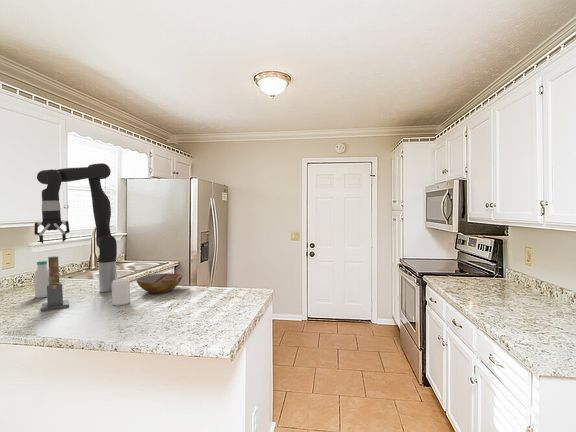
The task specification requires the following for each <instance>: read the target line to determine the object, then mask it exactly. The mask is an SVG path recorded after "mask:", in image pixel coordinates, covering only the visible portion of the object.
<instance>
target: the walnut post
mask: <svg viewBox="0 0 576 432" xmlns="http://www.w3.org/2000/svg"><path fill="white" fill-rule="evenodd" d="M47 258H48V259H47V260H48V261H47V263H48V270H49V285H57V284H60V283H59V282H60V268H59V265H60V263H59V256H58V255H55V256H53V255H52V256H48V257H47Z"/></svg>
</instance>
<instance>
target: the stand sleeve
mask: <svg viewBox="0 0 576 432" xmlns="http://www.w3.org/2000/svg"><path fill="white" fill-rule="evenodd" d="M59 283H60V284H57V285H49V284H47V297H46V299H47V300H46V301H47V302H46V303H45V302H43V303H41V310H40V311H41V312H49V311H55V310H60V309H61V310H62V309H66V308H70V302H69V299H65V300H64V296H63V295H64V294H63V293H64V292H63V291H64V290H63V281H59Z"/></svg>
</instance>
